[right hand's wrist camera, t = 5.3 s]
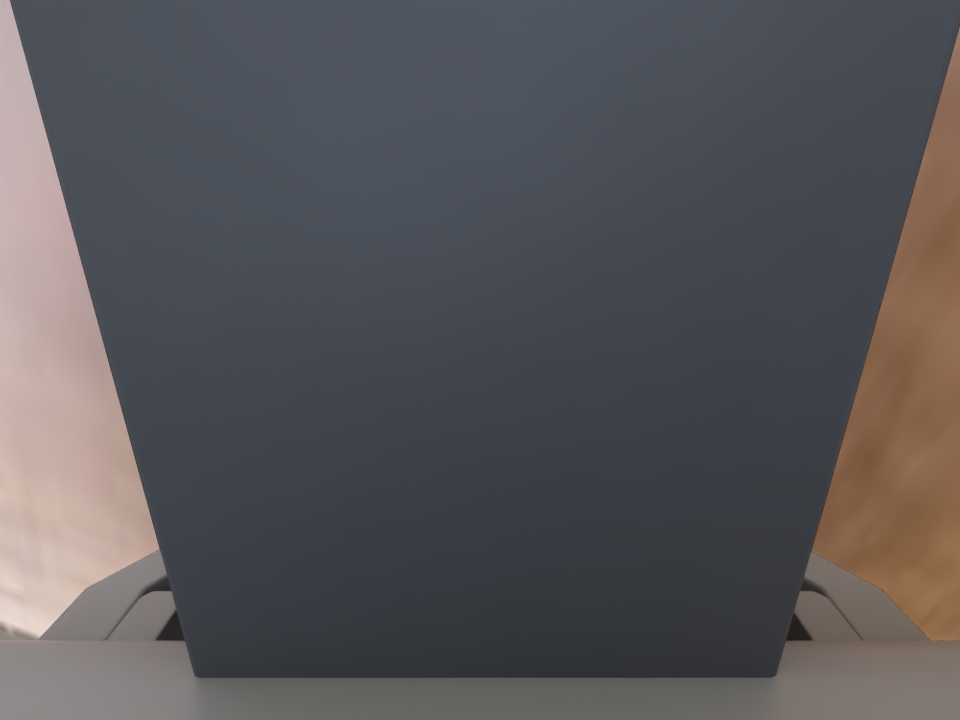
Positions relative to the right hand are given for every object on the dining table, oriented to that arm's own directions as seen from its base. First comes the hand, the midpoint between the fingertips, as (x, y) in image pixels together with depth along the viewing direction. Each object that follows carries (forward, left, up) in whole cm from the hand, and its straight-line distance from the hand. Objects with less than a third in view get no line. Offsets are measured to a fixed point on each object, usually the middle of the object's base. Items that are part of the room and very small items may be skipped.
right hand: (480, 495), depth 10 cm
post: (+10, -18, -4) cm, 21 cm away
